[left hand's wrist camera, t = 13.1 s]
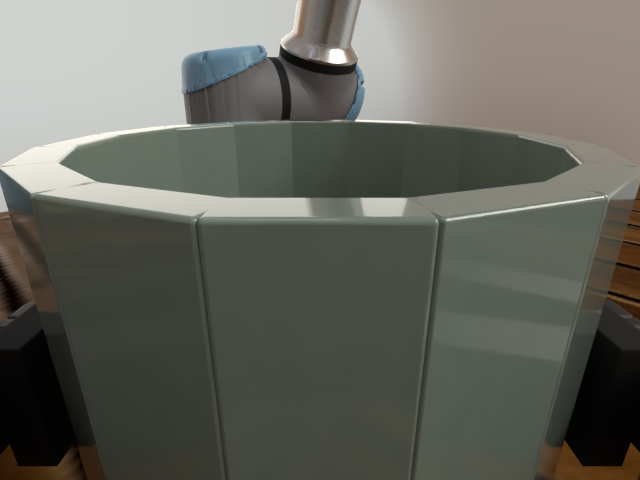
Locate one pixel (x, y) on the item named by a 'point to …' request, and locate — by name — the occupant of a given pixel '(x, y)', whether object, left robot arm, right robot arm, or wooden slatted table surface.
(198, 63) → the right robot arm
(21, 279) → the wooden slatted table surface
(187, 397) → the pot
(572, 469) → the wooden slatted table surface
